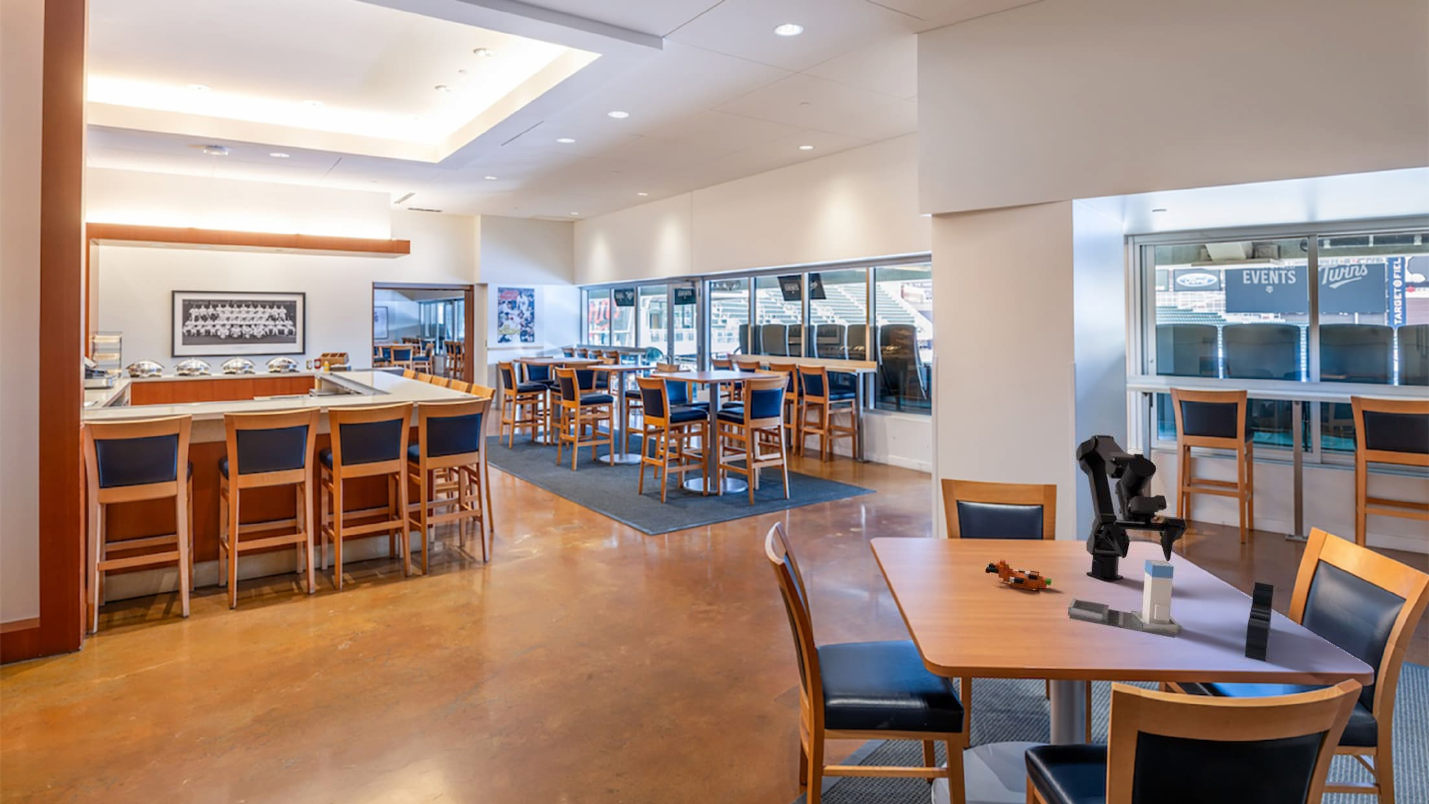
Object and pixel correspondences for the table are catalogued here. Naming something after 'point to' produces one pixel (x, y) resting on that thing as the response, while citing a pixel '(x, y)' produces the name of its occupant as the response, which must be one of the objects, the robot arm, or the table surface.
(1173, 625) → the gray square frame
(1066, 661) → the table surface
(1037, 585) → the toy
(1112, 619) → the panel
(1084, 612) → the grey square holder
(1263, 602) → the logo
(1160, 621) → the plug
